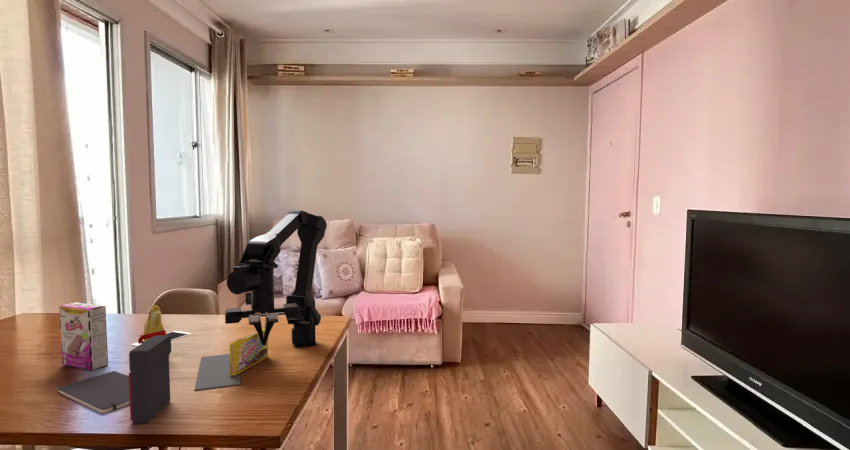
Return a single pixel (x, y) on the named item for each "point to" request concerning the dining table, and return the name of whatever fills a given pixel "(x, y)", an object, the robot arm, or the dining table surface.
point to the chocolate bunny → (153, 325)
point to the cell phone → (173, 335)
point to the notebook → (100, 391)
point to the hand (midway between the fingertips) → (263, 344)
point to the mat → (215, 373)
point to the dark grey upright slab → (149, 378)
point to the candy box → (246, 353)
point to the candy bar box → (83, 335)
